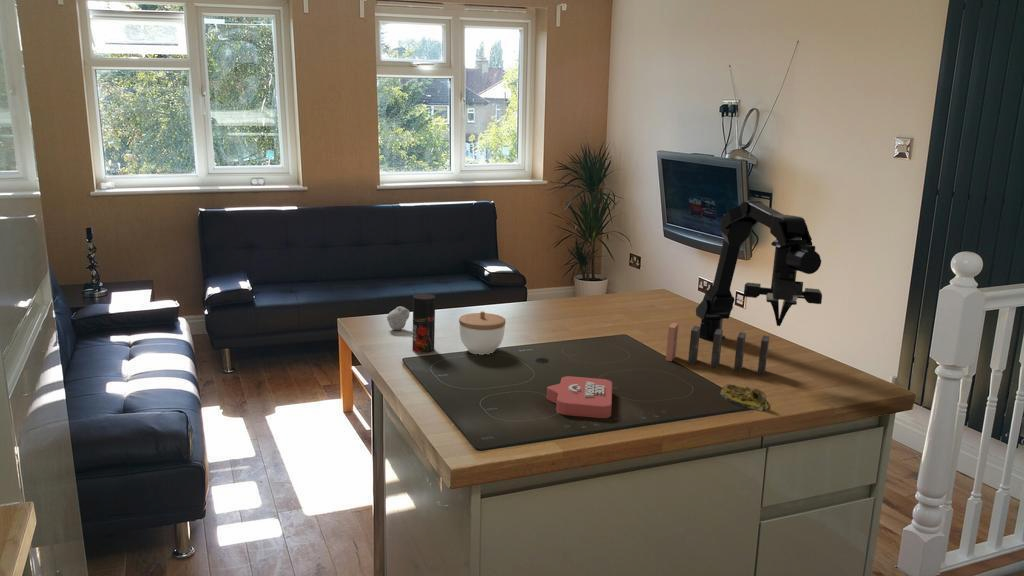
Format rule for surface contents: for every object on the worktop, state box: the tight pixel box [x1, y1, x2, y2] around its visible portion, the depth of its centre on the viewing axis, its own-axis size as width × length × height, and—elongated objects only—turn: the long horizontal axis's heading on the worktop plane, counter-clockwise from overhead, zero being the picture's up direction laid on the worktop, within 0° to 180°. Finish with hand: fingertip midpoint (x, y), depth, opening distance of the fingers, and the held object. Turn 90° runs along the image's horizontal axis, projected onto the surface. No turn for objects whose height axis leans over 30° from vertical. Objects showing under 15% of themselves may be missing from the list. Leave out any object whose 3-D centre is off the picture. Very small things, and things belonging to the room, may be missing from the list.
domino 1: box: [665, 322, 679, 362], centre depth 213 cm, size 2×5×10 cm, turn 156°
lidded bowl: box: [458, 311, 507, 356], centre depth 213 cm, size 13×13×11 cm
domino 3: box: [710, 329, 724, 370], centre depth 209 cm, size 2×5×10 cm, turn 158°
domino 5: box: [756, 335, 770, 377], centre depth 205 cm, size 2×5×10 cm, turn 158°
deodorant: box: [412, 293, 436, 354], centre depth 211 cm, size 6×6×15 cm
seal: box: [720, 383, 770, 412], centre depth 186 cm, size 9×5×15 cm
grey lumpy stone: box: [386, 306, 410, 331], centre depth 230 cm, size 6×7×7 cm
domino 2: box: [687, 325, 700, 366], centre depth 211 cm, size 2×5×10 cm, turn 157°
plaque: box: [546, 375, 613, 419], centre depth 180 cm, size 18×4×15 cm
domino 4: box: [733, 331, 747, 373], centre depth 207 cm, size 2×5×10 cm, turn 157°
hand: (778, 325), depth 201 cm, fingers closed
